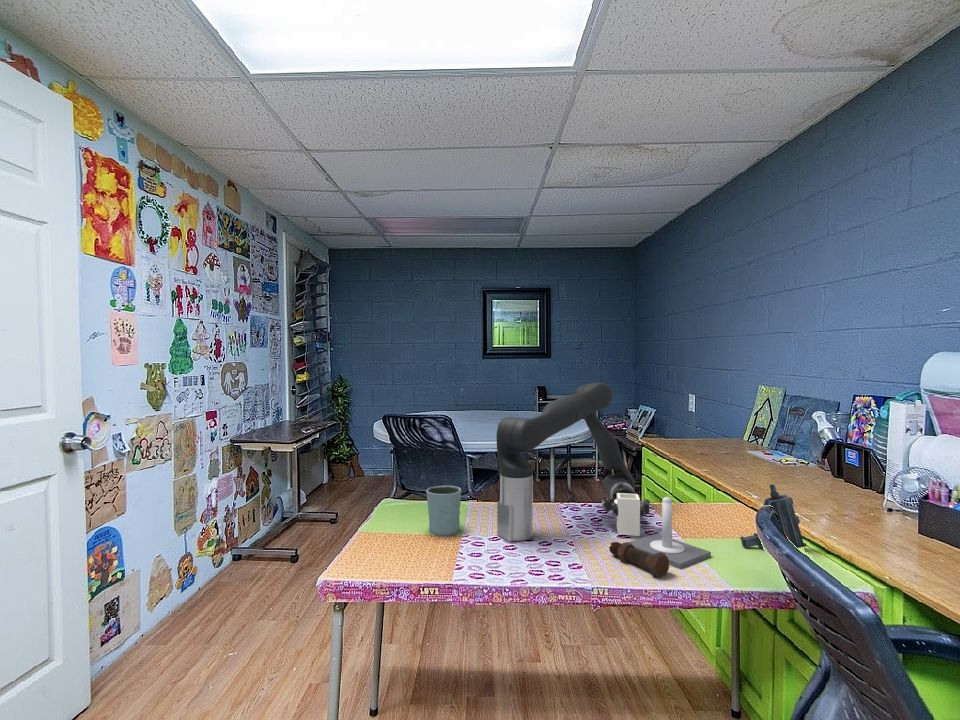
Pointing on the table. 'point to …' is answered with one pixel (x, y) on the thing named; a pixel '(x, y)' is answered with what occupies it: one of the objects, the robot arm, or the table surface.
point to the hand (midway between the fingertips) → (629, 512)
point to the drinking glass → (444, 509)
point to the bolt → (641, 558)
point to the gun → (780, 520)
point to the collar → (628, 514)
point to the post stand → (670, 542)
